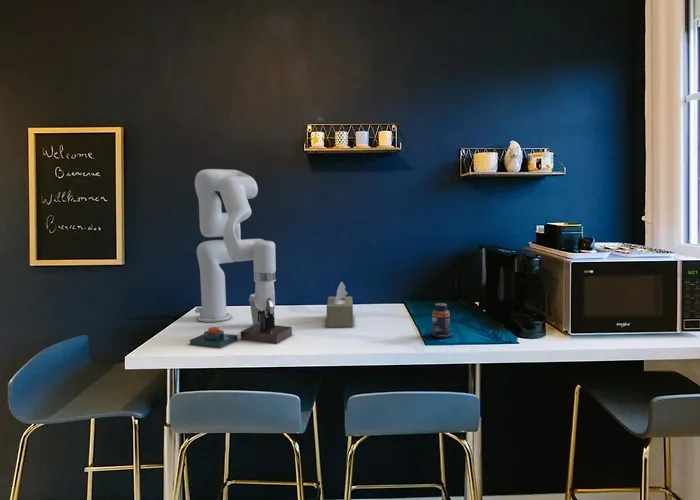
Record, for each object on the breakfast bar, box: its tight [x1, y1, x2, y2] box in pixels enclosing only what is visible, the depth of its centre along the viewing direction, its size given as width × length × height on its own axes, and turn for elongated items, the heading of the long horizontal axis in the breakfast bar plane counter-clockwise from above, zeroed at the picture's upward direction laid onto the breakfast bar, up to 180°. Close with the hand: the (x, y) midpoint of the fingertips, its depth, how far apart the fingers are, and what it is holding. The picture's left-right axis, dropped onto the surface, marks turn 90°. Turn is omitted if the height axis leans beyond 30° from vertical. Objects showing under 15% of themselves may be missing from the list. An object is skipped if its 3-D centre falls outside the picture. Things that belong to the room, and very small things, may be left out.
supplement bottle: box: [432, 302, 451, 339], centre depth 175 cm, size 6×6×11 cm
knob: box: [259, 312, 274, 331], centre depth 175 cm, size 5×5×6 cm
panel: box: [240, 324, 293, 344], centre depth 176 cm, size 14×11×3 cm
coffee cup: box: [248, 293, 268, 326], centre depth 191 cm, size 8×8×12 cm
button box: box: [189, 329, 238, 349], centre depth 170 cm, size 12×10×4 cm
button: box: [207, 326, 220, 334], centre depth 170 cm, size 4×4×2 cm
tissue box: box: [326, 281, 354, 328], centre depth 196 cm, size 19×10×16 cm, turn 0°
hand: (266, 325), depth 175 cm, fingers open, 9 cm apart
